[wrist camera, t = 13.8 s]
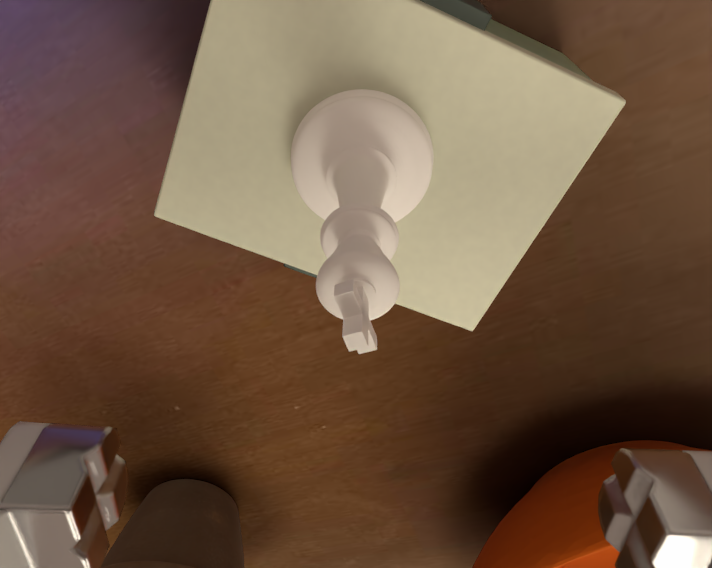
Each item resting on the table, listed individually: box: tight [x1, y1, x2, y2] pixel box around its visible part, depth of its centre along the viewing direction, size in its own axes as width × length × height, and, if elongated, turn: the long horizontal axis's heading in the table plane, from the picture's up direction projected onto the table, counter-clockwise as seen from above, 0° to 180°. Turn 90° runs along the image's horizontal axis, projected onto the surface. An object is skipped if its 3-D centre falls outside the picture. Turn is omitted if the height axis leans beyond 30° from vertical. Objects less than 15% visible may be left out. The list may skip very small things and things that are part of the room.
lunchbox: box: [154, 0, 626, 331], centre depth 24 cm, size 13×11×7 cm
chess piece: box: [291, 89, 434, 354], centre depth 17 cm, size 5×5×10 cm
